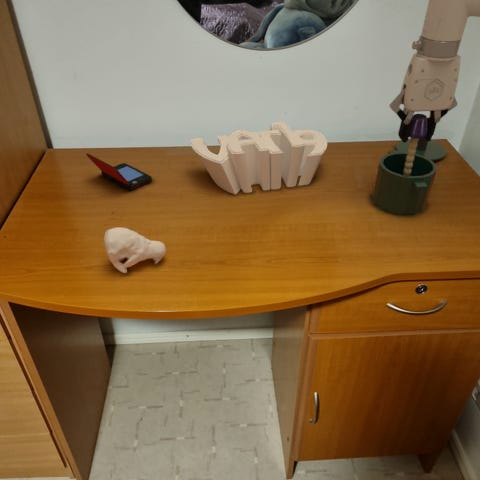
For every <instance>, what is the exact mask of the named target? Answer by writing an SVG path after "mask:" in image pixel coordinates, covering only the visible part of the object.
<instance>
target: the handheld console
mask: <svg viewBox="0 0 480 480" xmlns="http://www.w3.org/2000/svg"><path fill="white" fill-rule="evenodd" d="M86 156H87V158H88V159H89V160H90V161H91V162H92V163H93V164H94V165H95V166H96V167H97V168H98V169H99V170H100V171H101V175H102V176H103V177H105V178H107V179H109V180H111V181H112V182H115V183H118V184H119V185H120V186H121V187H123V188H125V189H127V190H128V191H133V190H135V189H138V188H139V187H141V186H144V185H146V184H148V183H151V182H152V181H153V178H152V176H151V175H149V174H147V173H146V172H143V171H142V170H140V169H139V168H135V167H134V166H132V165H130V164H128V163H126V162H123V163H120V164H117V165H114V166H113V165H111V164H109V163H107V162H106V161H103V160H102V159H99V158H97V157H95V156H94V155H91V154H90V153H86Z"/></svg>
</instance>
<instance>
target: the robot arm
mask: <svg viewBox="0 0 480 480" xmlns="http://www.w3.org/2000/svg"><path fill="white" fill-rule="evenodd" d="M425 11H426V12H425V16H424V20H423V25H422V29H421V32H420V33H421V34H420V35H419V37H418V40H416V41H413V42H412V44H411V49H412V50H416V52H413V55H412V57H411V58H410V61H409V63H408V66H407V69H406V71H405V74H404V78H403V80H402V85H401V88H400V92H399V93H398V95H396V97H395V98H394V99H393V100H392V101H391V103H389V106H388V107H389V108H390V109H391V111H392V112H394V113H395V114H396V115H397V116H398V118H399V119H400V124H399V129H398V132H397V133H398V138H399V139H400V141H403V142H404V143H405V142H407V141H408V139H409V138H410V137H409V133H410V129H411V124H410V120H411V118H412V116H413V115H414V114H415V112H429V116H428V117H427V135H426V137H424V138H425V139H426V140H427V141H432V139H433V136H434V134H435V130H436V129H437V124H438V123H439V122H441V119H442V118H443V117H445V116H446V115H447V114H448V113H449V112H450V111H451V110H453V109H454V108H455V107H457V106H458V102H457V99H456V96H455V95H456V91H457V86H458V81H459V75H460V70H461V69H460V68H461V55H459V54H458V53H459V50H460V46H461V42H462V39H463V35H464V33H465V29H466V25H467V22H468V18H469V17H476V18H480V0H428V4H427V7H426V10H425ZM401 105H403V109H402V108H401V107H400V106H401Z"/></svg>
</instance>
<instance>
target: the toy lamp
mask: <svg viewBox="0 0 480 480" xmlns="http://www.w3.org/2000/svg"><path fill="white" fill-rule="evenodd" d="M427 118H428V116H427V115H426V114H423V113H414V114H413V116H412V118H411V120H410V124H411V129H410V133H409V137H408V138H410V139H411V142H410V144H409V149H408V155H407V157H406V163H405V168H404V171H403V173H404V174H403V175H406V176H410V174H411V168H412V166H413V161H414V155H415V153H416V147H417V142H418V140H419V138H424V137H426V135H427Z"/></svg>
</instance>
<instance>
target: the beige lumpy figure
mask: <svg viewBox="0 0 480 480" xmlns="http://www.w3.org/2000/svg"><path fill="white" fill-rule="evenodd" d="M103 245H104V247H105V249H104V250H105V251H106V255H107V258H108V260H109V261H110V262H111V264H112V265H113V267H114V268H115V269H116V270H117V271H119V272H120V273H122V274H127V273H128V269H127V268H130V267H133V266H134V265H136V264H138V263H140V262H143V261H146V260H148V259H149V260H150V259H152V260H153V261H154V264H155V266H156V265H157V264H158V263H159V262H160V261H161V260H162V259H163V258H164V257H165V255H166V254H167V247H166V245H165V244H164V242H162V241H159V240H150V239H149V238H146V237H145V236H144V235H141V234H139V233H138V232H136V231H134V230H132V229H129V228H126V227H112V228H110V229H106V230H105V233H104V237H103ZM125 259H127V261H125V262H124V263H123V262H121V261H123V260H125Z"/></svg>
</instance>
